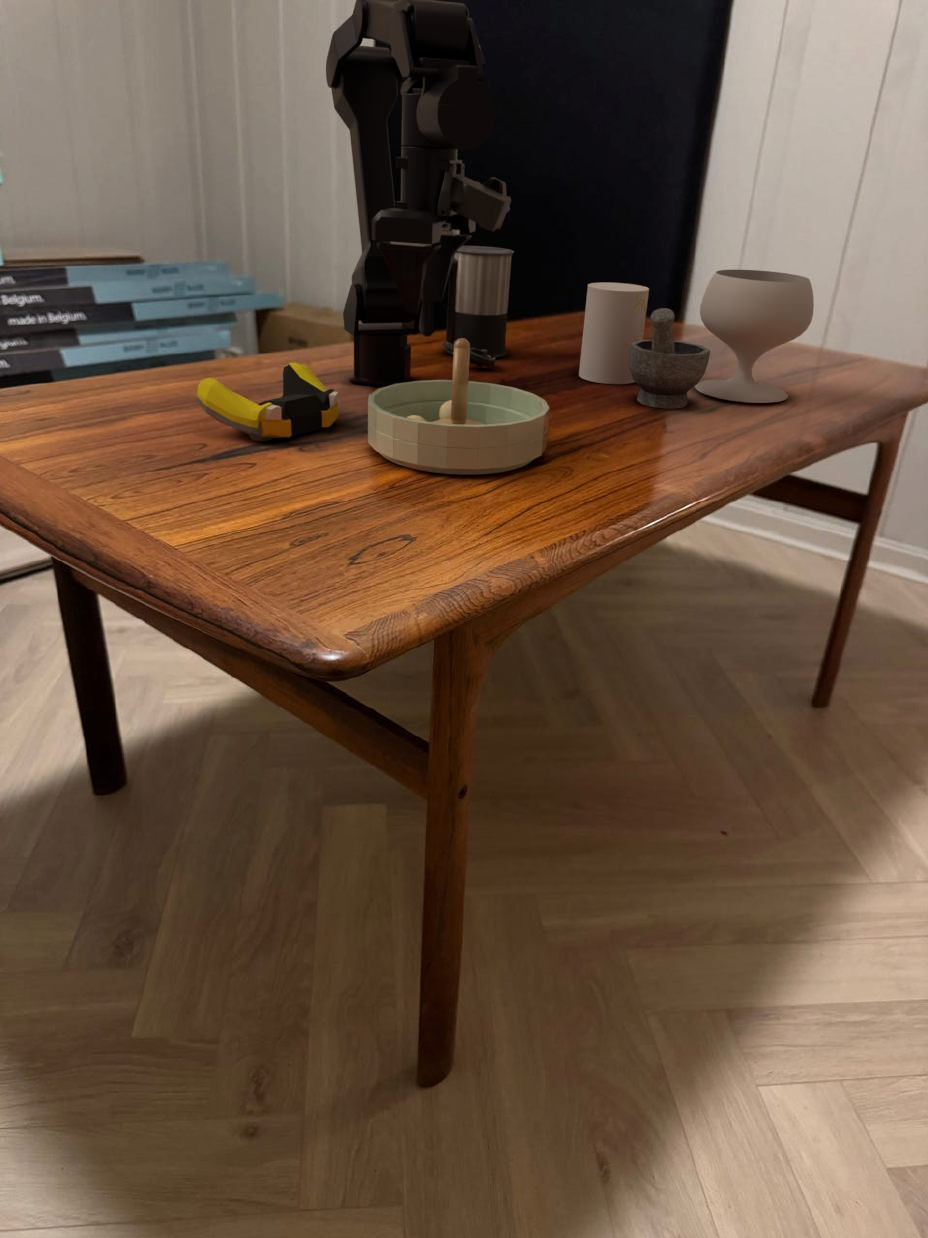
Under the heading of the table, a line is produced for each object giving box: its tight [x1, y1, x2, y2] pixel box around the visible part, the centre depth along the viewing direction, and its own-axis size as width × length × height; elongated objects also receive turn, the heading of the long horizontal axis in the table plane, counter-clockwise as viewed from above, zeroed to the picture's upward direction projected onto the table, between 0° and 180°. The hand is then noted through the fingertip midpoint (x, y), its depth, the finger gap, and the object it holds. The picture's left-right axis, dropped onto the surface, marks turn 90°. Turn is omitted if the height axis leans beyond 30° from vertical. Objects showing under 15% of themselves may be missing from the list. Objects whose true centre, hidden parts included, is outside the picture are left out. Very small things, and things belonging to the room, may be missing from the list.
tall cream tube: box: [578, 282, 650, 385], centre depth 126 cm, size 8×8×12 cm
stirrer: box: [433, 338, 485, 425], centre depth 93 cm, size 6×6×10 cm
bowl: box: [367, 379, 550, 476], centre depth 94 cm, size 18×18×5 cm
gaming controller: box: [196, 361, 340, 442], centre depth 98 cm, size 15×6×10 cm
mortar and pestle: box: [628, 307, 711, 410], centre depth 114 cm, size 11×9×12 cm
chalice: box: [694, 269, 815, 404], centre depth 120 cm, size 14×14×15 cm
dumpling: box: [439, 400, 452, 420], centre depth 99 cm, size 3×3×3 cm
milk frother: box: [418, 245, 515, 369], centre depth 132 cm, size 14×16×15 cm
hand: (425, 307), depth 101 cm, fingers open, 9 cm apart
